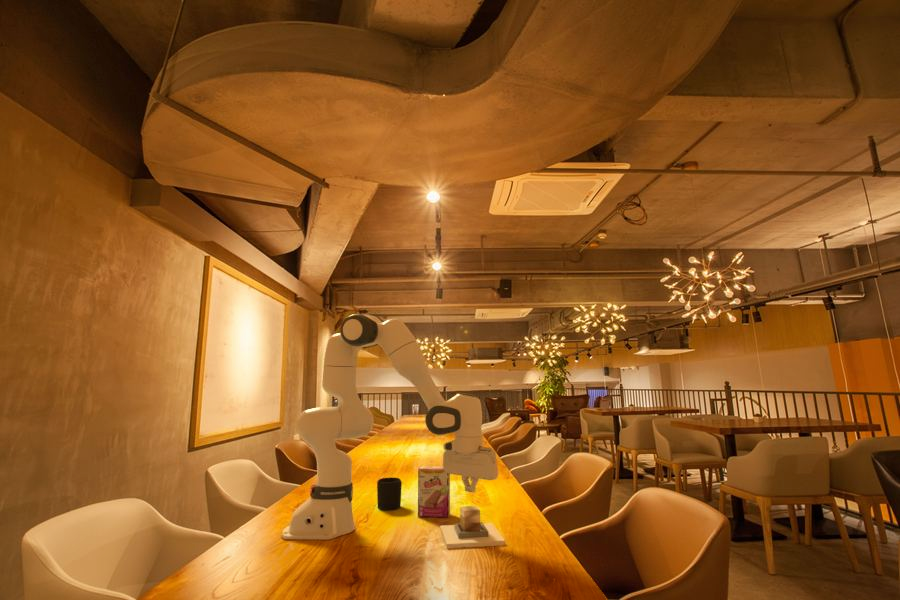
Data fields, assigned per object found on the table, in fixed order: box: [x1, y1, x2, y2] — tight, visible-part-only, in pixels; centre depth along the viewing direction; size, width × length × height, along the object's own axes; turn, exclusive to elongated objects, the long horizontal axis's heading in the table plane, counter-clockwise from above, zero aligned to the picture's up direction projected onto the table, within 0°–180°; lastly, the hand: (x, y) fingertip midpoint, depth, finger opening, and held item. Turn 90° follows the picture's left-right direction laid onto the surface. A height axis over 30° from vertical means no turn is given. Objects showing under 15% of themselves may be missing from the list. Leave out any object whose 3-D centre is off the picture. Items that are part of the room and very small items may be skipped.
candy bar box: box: [417, 465, 451, 519], centre depth 158 cm, size 11×5×16 cm, turn 84°
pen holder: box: [376, 477, 403, 511], centre depth 169 cm, size 9×9×10 cm
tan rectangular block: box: [459, 505, 481, 532], centre depth 135 cm, size 5×5×7 cm
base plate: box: [439, 521, 506, 549], centre depth 135 cm, size 17×17×3 cm
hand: (470, 491), depth 137 cm, fingers closed
